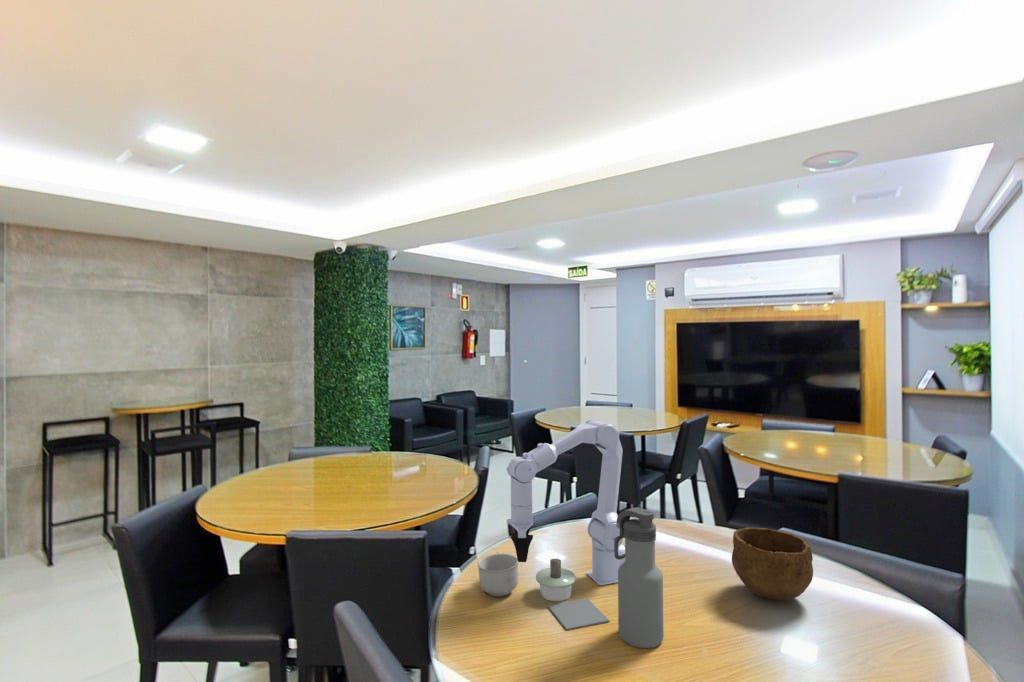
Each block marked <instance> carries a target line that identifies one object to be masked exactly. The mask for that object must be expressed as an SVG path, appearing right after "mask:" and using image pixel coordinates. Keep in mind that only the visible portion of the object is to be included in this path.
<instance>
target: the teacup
mask: <svg viewBox="0 0 1024 682" xmlns="http://www.w3.org/2000/svg"><path fill="white" fill-rule="evenodd" d="M477 568H478V579H479V586H480V587H481V589H482V590H483V591H484V592H486V593H487V594H488V595H490V596H493V597H504V596H508V595H509V594H510V593H512V592H513V590H515V589H516V587H517V586H518V583H519V562H518V559H517V556H515V555H512V554H508V553H503V552H502V551H501V550H500V551H496V553H493V554H490V555H486V556H484V557H482V558H480V559H479V560H478V562H477Z"/></svg>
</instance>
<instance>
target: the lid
mask: <svg viewBox="0 0 1024 682" xmlns="http://www.w3.org/2000/svg"><path fill="white" fill-rule="evenodd" d="M549 563H550V564H549V567H546V568H543V569H540V570H539V571H537V572H536V574H535V580H536V582H537V583H538V584H539V585H540V584H541V585H544V586H547V587H552V588H563V587H567V586H570V585H572V586H573V585H574V584H575V582H576V581H577V580H576V578H577V577H576V575H575V573H574V572H573V571H571V570H569V569H567V568H562V561H561V559H559V558H551V559H550V561H549Z"/></svg>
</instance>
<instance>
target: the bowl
mask: <svg viewBox="0 0 1024 682" xmlns="http://www.w3.org/2000/svg"><path fill="white" fill-rule="evenodd" d="M732 546H733V549H732V553H731V564H732V566H733V569H734V571H735V573H736V575H737V576H738V578H739V579H740V581H741V582H742V583H743V584H744V586H745V587H746V588H747V590H749V591H750V592H752V593H753V594H755V595H757V596H758V597H759V596H760V598H767V599H768V600H777V601H778V600H779V601H783V600H790V599H795V598H797V597H799V596H801V595H802V594H803V593H805V591H806V590H807V588H808V587H809V586H810V584H811V583H812V581H813V577H814V566H813V558H814V557H813V551H812V545H811V544H810V542H808V541H807V540H806V539H805V538H803V537H802V536H799V535H796V534H793V533H792V532H790V533H789V532H787V531H783V530H774V529H772V528H767V527H763V528H761V527H744V528H743V527H742V528H738V529H736V530H735V531H733V536H732Z"/></svg>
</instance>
